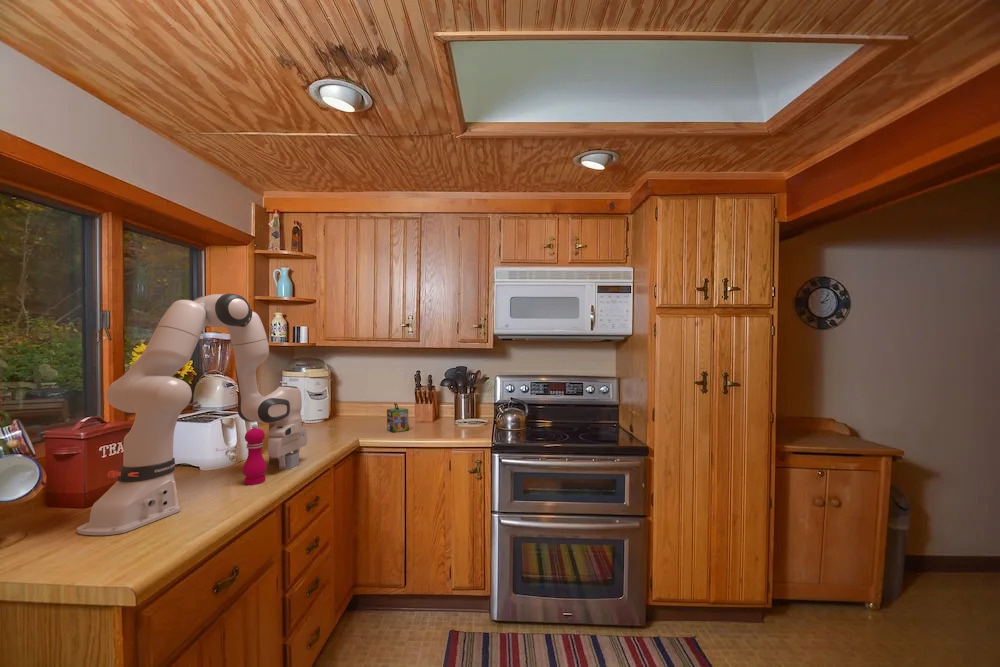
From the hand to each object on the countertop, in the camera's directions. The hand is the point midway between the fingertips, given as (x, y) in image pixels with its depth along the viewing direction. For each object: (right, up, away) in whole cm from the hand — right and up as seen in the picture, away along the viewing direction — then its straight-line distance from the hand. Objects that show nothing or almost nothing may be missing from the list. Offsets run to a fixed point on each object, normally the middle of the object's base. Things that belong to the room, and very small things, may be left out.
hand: (289, 463), depth 163 cm
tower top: (-7, +9, +6) cm, 13 cm away
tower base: (-7, -2, +6) cm, 9 cm away
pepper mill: (-4, -2, -17) cm, 17 cm away
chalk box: (+26, -3, +66) cm, 71 cm away
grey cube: (0, -2, 0) cm, 2 cm away
